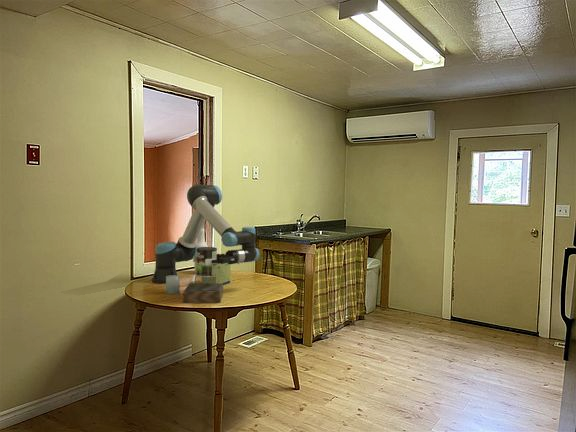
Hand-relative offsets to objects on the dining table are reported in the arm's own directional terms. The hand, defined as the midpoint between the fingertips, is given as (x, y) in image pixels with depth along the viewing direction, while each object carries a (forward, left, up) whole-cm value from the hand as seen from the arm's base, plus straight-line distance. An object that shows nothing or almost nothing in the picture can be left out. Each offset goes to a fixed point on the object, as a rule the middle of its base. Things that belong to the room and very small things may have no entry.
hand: (199, 260), depth 215 cm
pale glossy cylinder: (-16, +14, -20) cm, 29 cm away
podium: (+2, +2, -20) cm, 20 cm away
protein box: (+5, +36, -20) cm, 42 cm away
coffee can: (+3, +3, -8) cm, 9 cm away
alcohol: (-8, +70, -20) cm, 73 cm away
